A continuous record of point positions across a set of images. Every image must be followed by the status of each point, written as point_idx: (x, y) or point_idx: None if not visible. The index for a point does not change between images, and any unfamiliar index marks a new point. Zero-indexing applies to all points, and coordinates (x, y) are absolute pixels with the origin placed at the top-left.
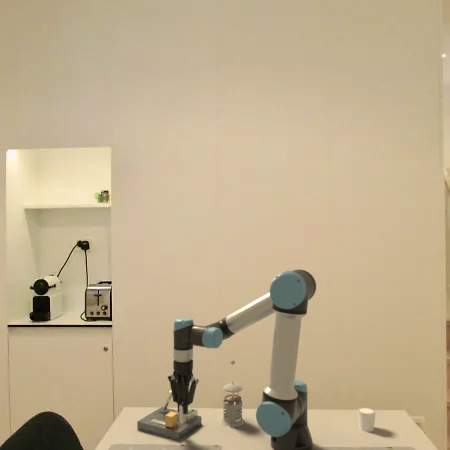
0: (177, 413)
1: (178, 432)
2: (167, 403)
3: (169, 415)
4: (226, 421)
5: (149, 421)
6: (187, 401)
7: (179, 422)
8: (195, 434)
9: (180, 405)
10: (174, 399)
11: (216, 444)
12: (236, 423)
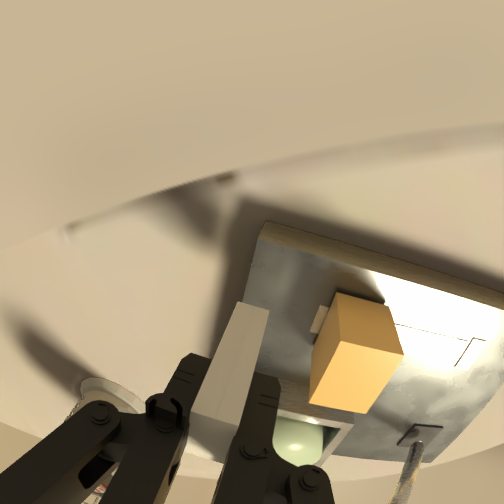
0: (309, 399)
1: (262, 240)
2: (406, 474)
3: (367, 360)
4: (118, 402)
5: (489, 340)
6: (95, 437)
7: (265, 311)
8: (203, 309)
9: (221, 423)
10: (307, 492)
11: (73, 231)
12: (89, 390)
